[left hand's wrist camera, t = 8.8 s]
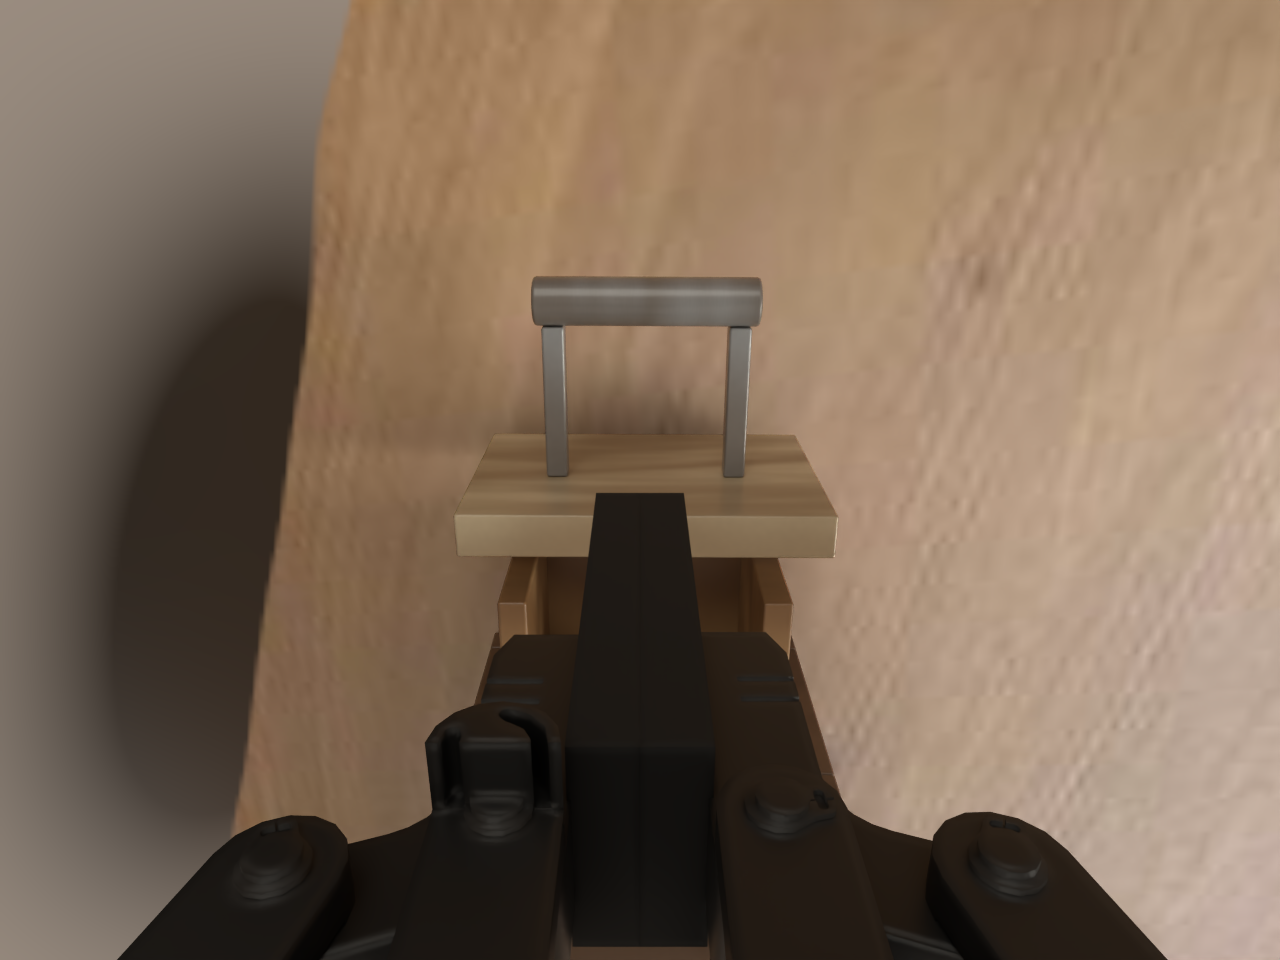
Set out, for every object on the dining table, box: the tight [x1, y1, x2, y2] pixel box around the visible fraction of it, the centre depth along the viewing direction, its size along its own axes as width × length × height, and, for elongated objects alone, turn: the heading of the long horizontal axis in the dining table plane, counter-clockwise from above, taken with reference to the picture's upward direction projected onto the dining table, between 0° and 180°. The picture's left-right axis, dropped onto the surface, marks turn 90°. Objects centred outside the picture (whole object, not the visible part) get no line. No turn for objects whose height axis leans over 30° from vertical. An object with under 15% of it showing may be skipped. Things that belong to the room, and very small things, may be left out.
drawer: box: [454, 276, 839, 659], centre depth 27 cm, size 21×10×7 cm, turn 0°
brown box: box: [474, 633, 841, 960], centre depth 31 cm, size 17×11×9 cm, turn 0°
